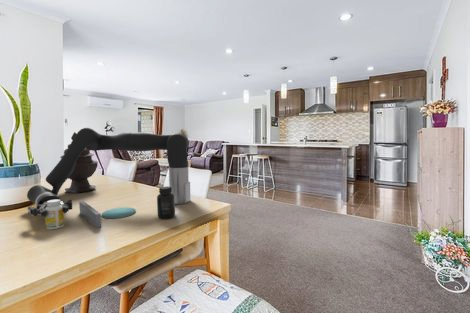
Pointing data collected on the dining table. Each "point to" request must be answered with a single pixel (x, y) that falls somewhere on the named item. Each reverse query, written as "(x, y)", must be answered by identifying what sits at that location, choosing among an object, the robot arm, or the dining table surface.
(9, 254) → the dining table surface
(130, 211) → the teal mat
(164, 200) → the supplement bottle
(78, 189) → the decorative urn
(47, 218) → the supplement bottle
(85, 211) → the gray wall
